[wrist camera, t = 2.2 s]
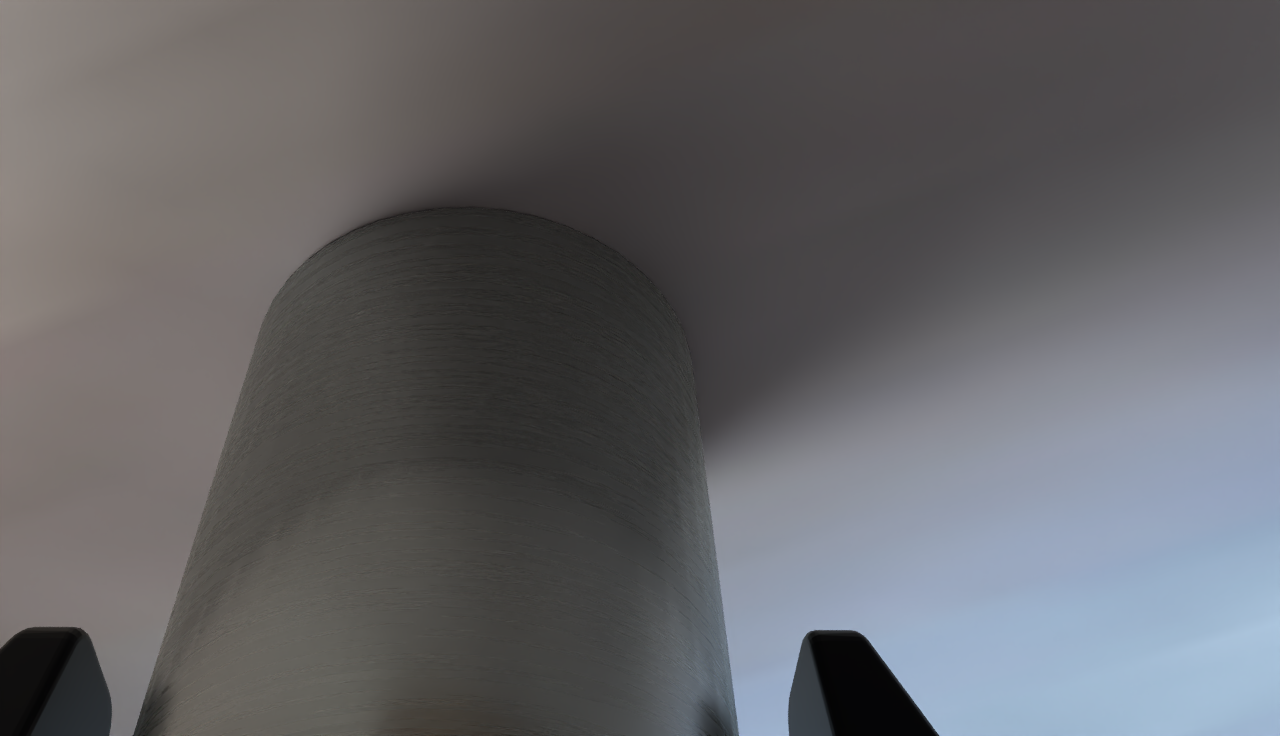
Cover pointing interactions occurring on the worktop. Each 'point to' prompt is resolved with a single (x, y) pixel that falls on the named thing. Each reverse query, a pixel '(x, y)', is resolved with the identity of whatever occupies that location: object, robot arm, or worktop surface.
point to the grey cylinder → (456, 503)
